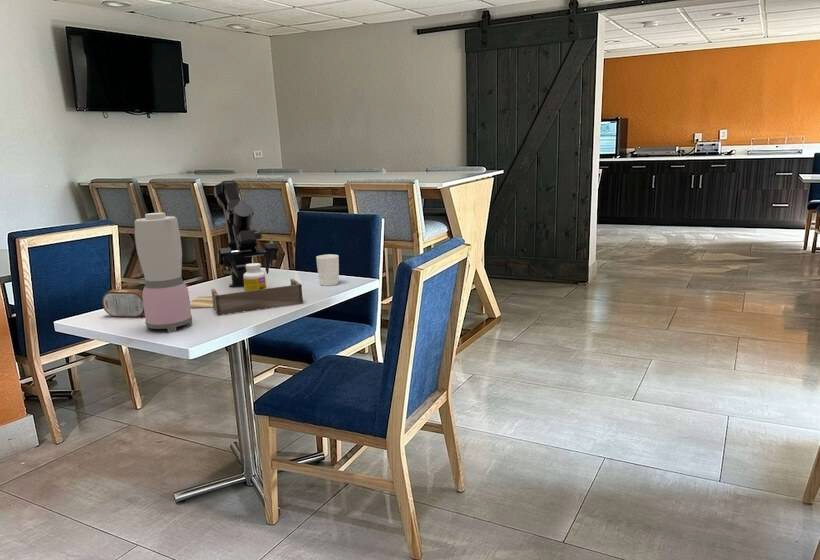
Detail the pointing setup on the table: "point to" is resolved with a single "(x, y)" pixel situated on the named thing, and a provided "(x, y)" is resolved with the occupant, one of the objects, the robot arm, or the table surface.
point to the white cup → (328, 269)
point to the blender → (162, 272)
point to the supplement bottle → (254, 277)
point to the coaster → (202, 302)
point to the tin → (124, 303)
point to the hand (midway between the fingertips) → (253, 274)
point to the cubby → (257, 299)
